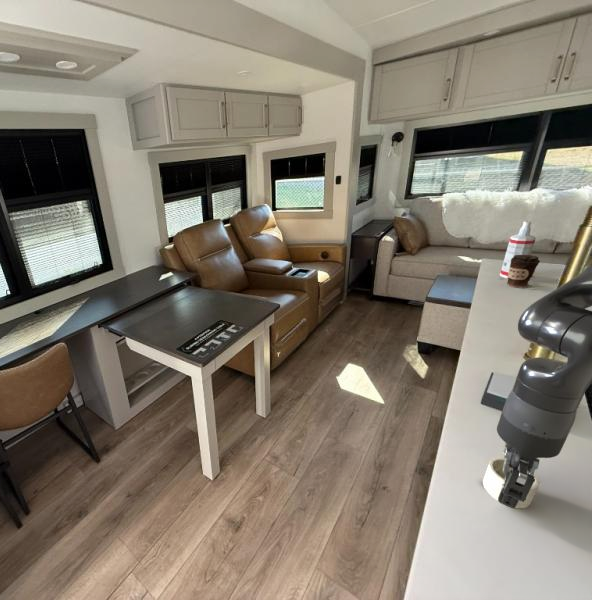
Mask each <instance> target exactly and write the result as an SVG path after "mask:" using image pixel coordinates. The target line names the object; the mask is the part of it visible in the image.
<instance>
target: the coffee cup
mask: <svg viewBox="0 0 592 600" xmlns="http://www.w3.org/2000/svg"><path fill="white" fill-rule="evenodd" d="M539 258H540V257H539V256H536V255H532V254H531V255H515V256H514V257H513V258H512V259H511V264H510V268H509V274H508V278H507V282H506V284H507V285H508V286H510V287H513V288H521V289H522V288H523V289H525V288H528V286H529V282H530V280H531V279H532V278H533V277H534V274H535V272H536V269H537V267H538V266H539V264H540V262H541V261H540V259H539Z"/></svg>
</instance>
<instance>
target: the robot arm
mask: <svg viewBox="0 0 592 600" xmlns="http://www.w3.org/2000/svg"><path fill="white" fill-rule="evenodd" d="M591 307H592V261H591V262H590V263H589V264H588V265H587V266H586V267H585V268H584V269H583V270H582V271H581V272H580V273H579V274H578V275H576V276H575V277H573V278H571V279H570V280H568V281H566V282H565V283H564V284H561V286H559V287H558V288H556V289H554V290H552V291H551V292H549V293H548V294H546V295H544V296H542V297H541V298H539V299H538V300H536V301H535V302H533V303H532V304H530V305H529V306H528V307H527V308H526V309H525V310H523V312H522V314H521V315H520V317H519V319H518V322H517V323H518V324H517V331H518V333H519V335H520V337H521V338H522V339H524V340H526V341H527V342H529V343H531V344H533V345H535V346H538V347H540V348H543V349H546V350H548V351H550V352H553V353H555V354H557V355H560V356H563V357H565V358H567V360H566V361H562V360H558V359H554V358H548V357H530V358H527V359H526V360H524V361H523V362H522V363H521V365H520V367H519V370H518V372H517V375H516V381H515V383H514V386H513V389H512V391H511V392H510V394H509V395H508V397H507V400H506V402H505V405H504V408H503V411H501V414H500V417H499V421H498V423H497V426H496V433H497V435H498V436H499V439H502V441H503V442H504V445H503V458H505V462H504V465H503V469H502V471H503V474H504V475H505V478H504V482H503V483H502V489H501V491H500V494H499V496H498V501H499V503H500V504H502V505H504V506H506V507H509V508H511V509H516V508H515V507H516V505H517V503H518V501H519V500H520V501H522V502H524V501H525V500H526V497H527V495H528V493H529V491H530V489H531V487H532V485H533V483H534V482H535V479H534V476H533V475H534V474H535V472H536V470H538V468H539V465H540V459H552V458H555V457H557V456H559V454H560V453H561V451H562V449H563V448H564V444H565V443H566V441H567V438H568V436H569V434H570V431H571V430H572V427H573V426H574V423H575V421H576V415H577V411H578V409H579V406H580V404H581V402H582V400H583V398H584V396H585V394H586V392H587V390H588V388H589V387H590V385H591V384H592V310H590V309H589V308H591ZM509 467H511V468H512V470H510V471H509V470H508V468H509ZM527 472H528V473H527ZM498 501H497V502H498Z"/></svg>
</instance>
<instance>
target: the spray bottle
mask: <svg viewBox="0 0 592 600" xmlns="http://www.w3.org/2000/svg"><path fill="white" fill-rule="evenodd" d="M531 225H532V221H528V220H524V221H523V223H522V226H521V227H520V228H519V232H518V234H513V235H511V236H510V237H509V240H508V245H507V248H506V250H505V255H504V259H503V262H502V265H501V270H500V272H499V276H500V277H501V278H505V279H508V274H509V268H510V264H511V259H512V258H513V257H514V256H515V255H532V252H533V249H534V245H535V242H536V239H537V236H535V235H531V230H532V229H531Z"/></svg>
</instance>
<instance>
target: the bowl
mask: <svg viewBox="0 0 592 600" xmlns="http://www.w3.org/2000/svg"><path fill="white" fill-rule="evenodd" d="M504 462H505V458H504V457H494V458H492V459H490V460H489V463H488V465H487V468H486V471H485V474H484V477H483V480H482V484H483V487H484V489H485V490H486V492H487V493H488V494H489V495H490V496H491V498H493V499H494V500H495V501H497V502H499V501H498V496H499V494H500V491H501V489H502V483H503V482H504V478H505V475H504V474H503V471H502V469H503V465H504ZM508 470H509V471H510V470H512V468H511V467H509V468H508ZM527 473H528V472H527ZM533 476H534V479H535V482H534V483H533V485H532V487H531V489H530V491H529V493H528V495H527V497H526V500H525V501H524V502H522V501H520V500H519V501H518V503H517V505H516V507H515V508H514V509H526V508H528V507H529V506H531V503H532V501H533V499H534V497H535V495H536V493H537V491H538V489H539V485H540V481H539V479H538V476H537V475H536V474H535V473H534V475H533ZM499 503H500V502H499Z"/></svg>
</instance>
